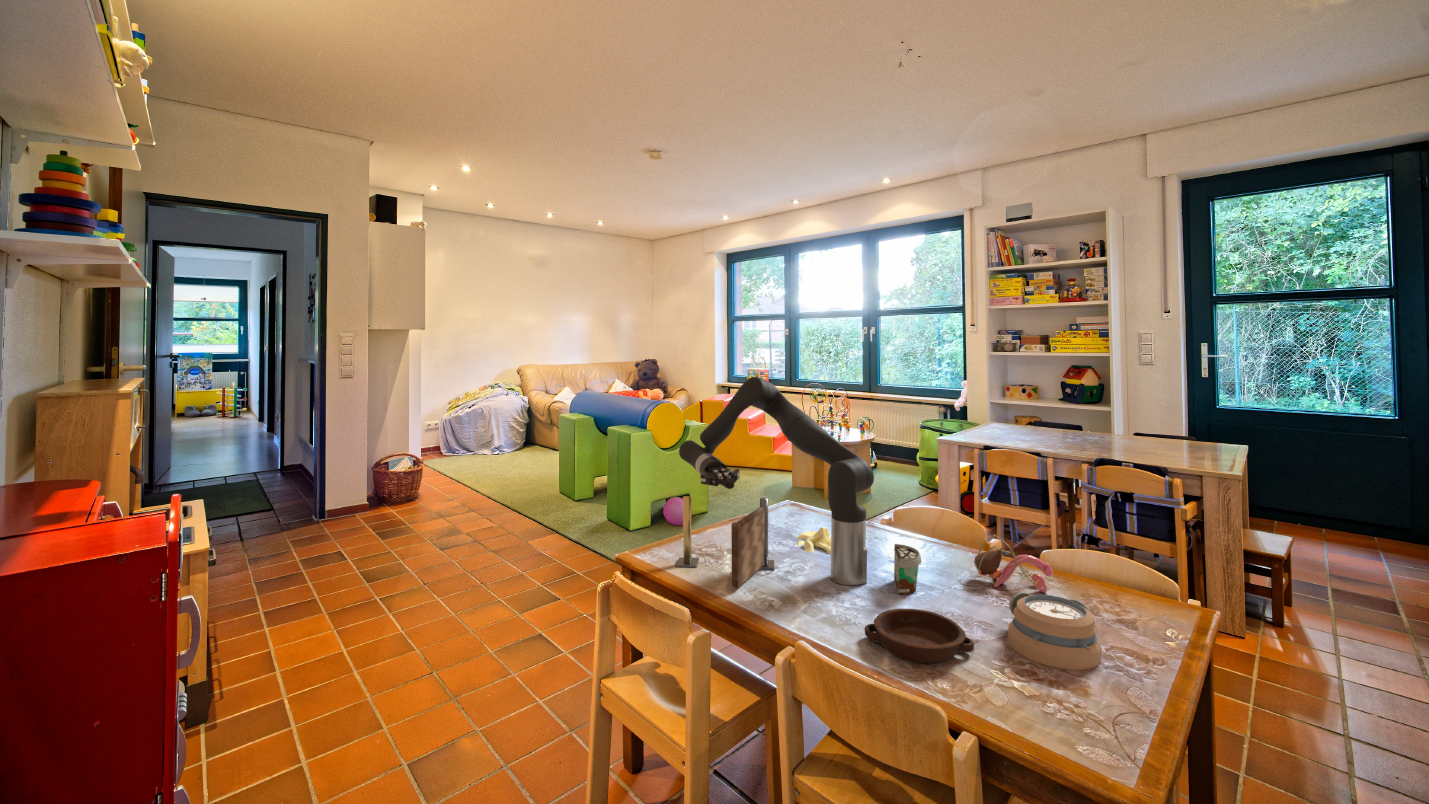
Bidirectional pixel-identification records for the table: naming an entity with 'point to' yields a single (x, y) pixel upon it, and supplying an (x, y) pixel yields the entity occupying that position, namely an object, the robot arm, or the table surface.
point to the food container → (906, 569)
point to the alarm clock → (1054, 631)
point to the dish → (918, 635)
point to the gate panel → (747, 546)
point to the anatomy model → (1010, 566)
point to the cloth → (816, 540)
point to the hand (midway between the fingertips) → (731, 485)
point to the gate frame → (687, 543)
